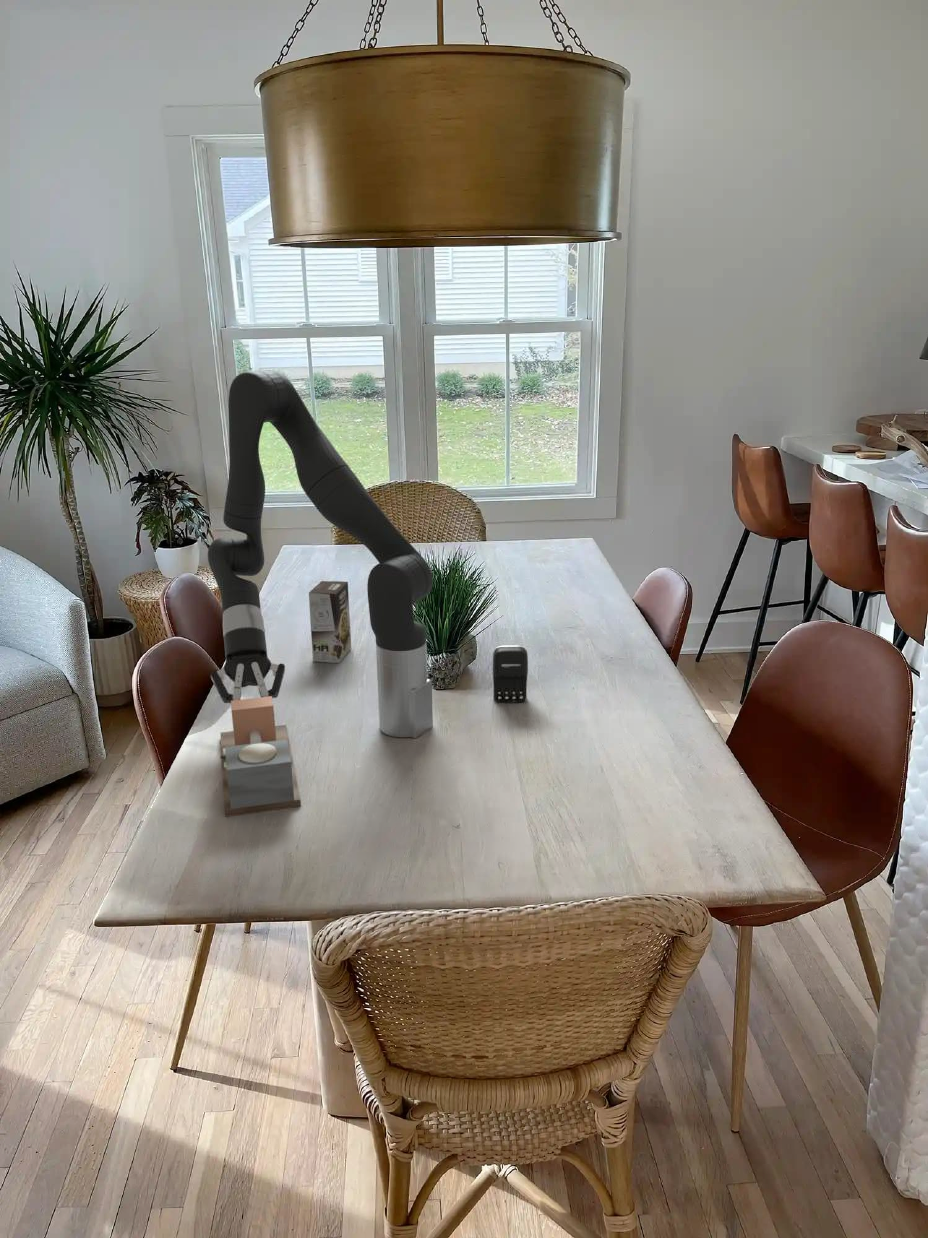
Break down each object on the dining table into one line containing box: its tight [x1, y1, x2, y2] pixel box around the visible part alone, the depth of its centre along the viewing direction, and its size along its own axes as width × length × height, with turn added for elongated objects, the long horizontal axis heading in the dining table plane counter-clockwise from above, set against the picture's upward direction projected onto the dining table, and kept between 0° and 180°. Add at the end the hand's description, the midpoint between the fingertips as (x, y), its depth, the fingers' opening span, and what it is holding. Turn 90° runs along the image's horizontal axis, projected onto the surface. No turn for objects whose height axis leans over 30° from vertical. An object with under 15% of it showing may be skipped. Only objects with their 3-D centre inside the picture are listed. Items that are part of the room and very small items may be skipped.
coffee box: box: [308, 580, 352, 664], centre depth 215 cm, size 9×6×16 cm
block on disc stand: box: [220, 696, 276, 760], centre depth 167 cm, size 9×10×10 cm
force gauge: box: [220, 724, 302, 817], centre depth 168 cm, size 28×12×9 cm, turn 14°
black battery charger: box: [492, 644, 529, 704], centre depth 192 cm, size 7×4×11 cm, turn 90°
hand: (253, 720), depth 175 cm, fingers open, 3 cm apart
